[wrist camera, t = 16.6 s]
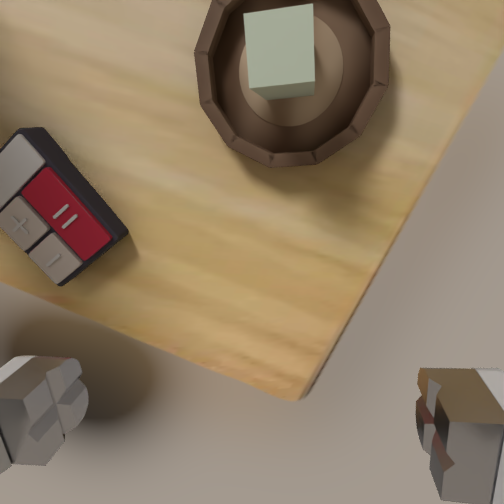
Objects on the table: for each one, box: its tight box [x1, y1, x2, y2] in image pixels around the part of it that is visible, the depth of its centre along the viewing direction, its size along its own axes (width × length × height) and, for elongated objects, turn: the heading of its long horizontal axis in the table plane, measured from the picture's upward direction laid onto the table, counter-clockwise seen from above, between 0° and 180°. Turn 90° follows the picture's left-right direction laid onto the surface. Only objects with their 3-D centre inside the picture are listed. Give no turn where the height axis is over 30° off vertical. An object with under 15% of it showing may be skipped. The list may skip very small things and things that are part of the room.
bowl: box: [194, 0, 390, 168], centre depth 33 cm, size 17×17×3 cm
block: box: [244, 4, 315, 100], centre depth 28 cm, size 4×4×10 cm
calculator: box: [0, 127, 128, 286], centre depth 41 cm, size 11×4×15 cm
